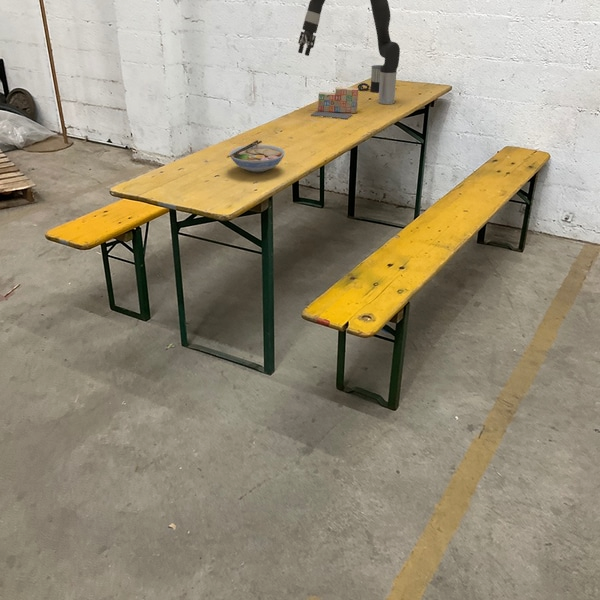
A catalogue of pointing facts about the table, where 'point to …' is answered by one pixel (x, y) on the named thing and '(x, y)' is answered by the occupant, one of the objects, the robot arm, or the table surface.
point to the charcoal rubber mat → (331, 115)
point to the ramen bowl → (257, 156)
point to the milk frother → (373, 80)
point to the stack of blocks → (339, 100)
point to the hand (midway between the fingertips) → (303, 54)
